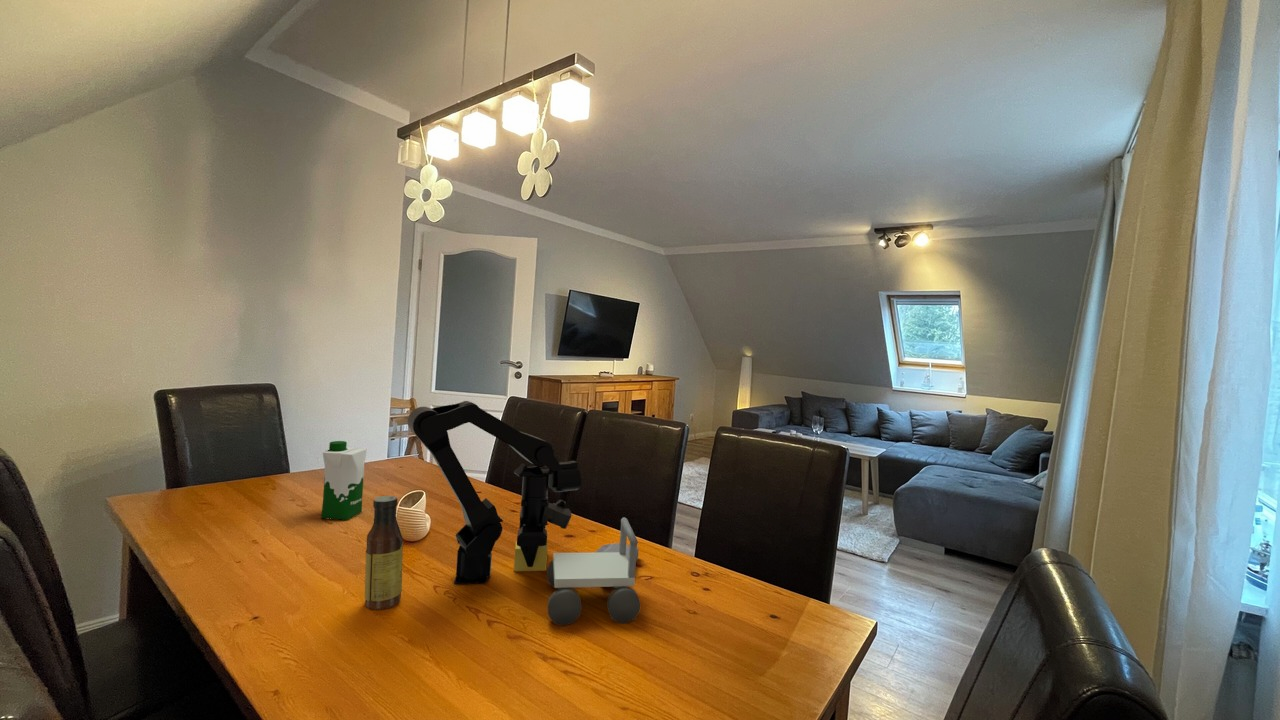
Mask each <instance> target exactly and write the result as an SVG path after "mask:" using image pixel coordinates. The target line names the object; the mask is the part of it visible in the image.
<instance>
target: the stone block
mask: <svg viewBox="0 0 1280 720" xmlns="http://www.w3.org/2000/svg"><path fill="white" fill-rule="evenodd" d="M619 547H620V542H615V543H606V544H603V545H601V546H600V547H599V548H598V549H597V550H596V551H595V552H594V553H597V552H619ZM629 547H630V544H629V545H628V544H626V557H627V559H628V562H629ZM638 560H639V547H638V546H637V554H636V562H637V561H638Z"/></svg>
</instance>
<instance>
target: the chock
mask: <svg viewBox="0 0 1280 720" xmlns="http://www.w3.org/2000/svg"><path fill="white" fill-rule="evenodd" d="M547 559H548V544H547V545H546V546H539V547H538V550H537V553H536V557H535V560H534V564H533V567H528V566H527V564H526V561H525V558H524V555H523V553H522V550H521V548H520V546H517V540H516V541H515V548H514V563H513V572H541V571H542V572H544V571H545V572H547Z"/></svg>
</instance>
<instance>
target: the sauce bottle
mask: <svg viewBox="0 0 1280 720" xmlns="http://www.w3.org/2000/svg"><path fill="white" fill-rule="evenodd" d="M372 506H373V508H374V511H373V513H374V515H373V516H374V519H373V523H372V526H371V529H370V530H369V532H367V535H366V550H365V576H364V577H365V578H364V600H365V601H364V604H365V606H366V607H367V608H369V609H370V610H376V611H377V610H386V609H390V608H392V607H394V606H396V605H397V604H399V602H400V601H401V598H402V592H403V565H404V564H403V559H404V558H403V557H404V556H403V555H404V553H403V551H404V550H403V549H404V540H403V539H404V538H403V535H402V532H401V529H400V527H399V522H398V520H397V506H398V497H397V496H394V495H382V496H377V497H375V498H374V499H373V505H372Z"/></svg>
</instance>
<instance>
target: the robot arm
mask: <svg viewBox="0 0 1280 720" xmlns="http://www.w3.org/2000/svg"><path fill="white" fill-rule="evenodd" d="M406 420H407V421H406V423H407V426H408V428H409V430H410V431H411V432H412V433H413V434H414V435H415V436H416V438H417V439H418V440H419V441H420V442H421V443H422V445H423V446H424V447H425V448H426V449H427V450H428V451H429V452H430V454H431V455H432V457H433V459H434V461H435V463H436V464H437V466H438V467H439V470H440V472H441V473H442V475H443V477H444V478H445V480H446V481H447V484H448V485H449V487H450V489H451V490H452V492H453V494H454V495H455V497H456V499H457V501H458V502H459V504H460V506H461V511H462V515H463V520H464V521H465V524H464V525H463V526H462V527H461V528H460V529H459V530H458V531H457V532H456V534H455V539H456V542H457V544H458V550H457V554H456V569H455V570H456V573H455V578H454V580H453V584H454V585H461V584H462V585H467V584H468V585H469V584H486V583H487V582H488V578H489V577H490V576H491V573H492V561H493V560H492V559H493V553H492V551H493V549H494V548H495V544H496V543H497V541H498V540H499V539H500V537H501V536H502V532H503V526H502V522H504V519H502V517H501V516H499V514H498V512H497V508H496V506H495V505H494V504H493V503H492V502H491V501H490V500H489V499H488V498H487V497H485V498H484V499H483V500H481V498H480V497H479V494H478V493H477V491H476V489H475V487H474V486H473V484H472V482H471V480H470V478H469V477H468V475H467V473H466V472H465V469H464V468H463V466H462V463H460V460H459V459H458V457H457V455H456V454H455V452H454V450H453V448H452V445H451V443H450V437H449V433H448V431H451V430H453V429H456V428H458V427H460V426H462V425H465V424H468V423H470V424H472V425H474V426H475V427H477V428H479V429H481V430H482V431H484V432H486V433H488V434H489V435H491V436H492V437H495V438H497V439H498V440H500V441H502V442H503V443H505V444H507V445H508V446H509V447H511V448H512V450H513V451H515V453H517V454H518V455H519V456H520V457H521V458H522V459H524V460H526V461H527V462H529V463H531V464H532V465H533V466H527V465H525V464H524V463H521V464H520V466H518V467H517V468H516V469H515V470H514V471H513V473H514V474H515V475H516V476H517V477H519V478H522V485H521V486H522V487H521V498H520V499H521V502H520V511H519V512H520V513H519V526H518V528H519V529H518V530H517V535H516V536H517V537H516V538H517V539H516V541H517V546H520V548H521V550H522V553H523V555H524V558H525V561H526V564H527V566H528V567H533V564H534V560H535V557H536V553H537V550H538V547H539V546H546V545H547V546H548V530H547V529H546V528H547V527H546V526H548V524H549V523H550V524H552V525H555V526H558V527H560V529H563V530H565V529H567V527H568V525H569V523H570V521H571V520H572V519H571V518H572V516H573V514H572V511H571V509H570V508H568V507H566V505H567V504H566V501H564V500H563V499H558V500H557V502H553V503H550V502H549V497H548V494H549V493H548V491H549V489H551V491H552V492H554V493H561V492H562V493H563V492H569V491H578V490H579V489H580V488H581V485H582V475H581V471H580V468H579V467H578V466H579V463H578V462H577V461H575V460H568V461H561V462H560V461H558V459H557V458H556V457H555V455H554V453H555V451H554V446H553V445H552V444H551V443H550V442H548V441H547V440H544V439H543V438H540V437H538V436H535V435H532V434H529V433H526V432H523V431H521V430H520V431H519V430H518V429H516V428H514V427H512V426H511V425H510V424H508V423H506V422H504V421H503V420H501V419H499V418H498V417H496V416H494V415H492V414H491V413H489V412H487V411H486V410H484V409H482V408H480V406H479V405H477V404H476V403H474V402H472V401H469V400H463V401H461V402H458V403H453V404H446V405H441V406H435V407H428V406H420V407H416V408H414V409H413V410H412V411H411V412H410V413H409V415H408V417H407V419H406ZM543 467H545V469H544V468H543ZM542 468H543V469H542Z"/></svg>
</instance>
